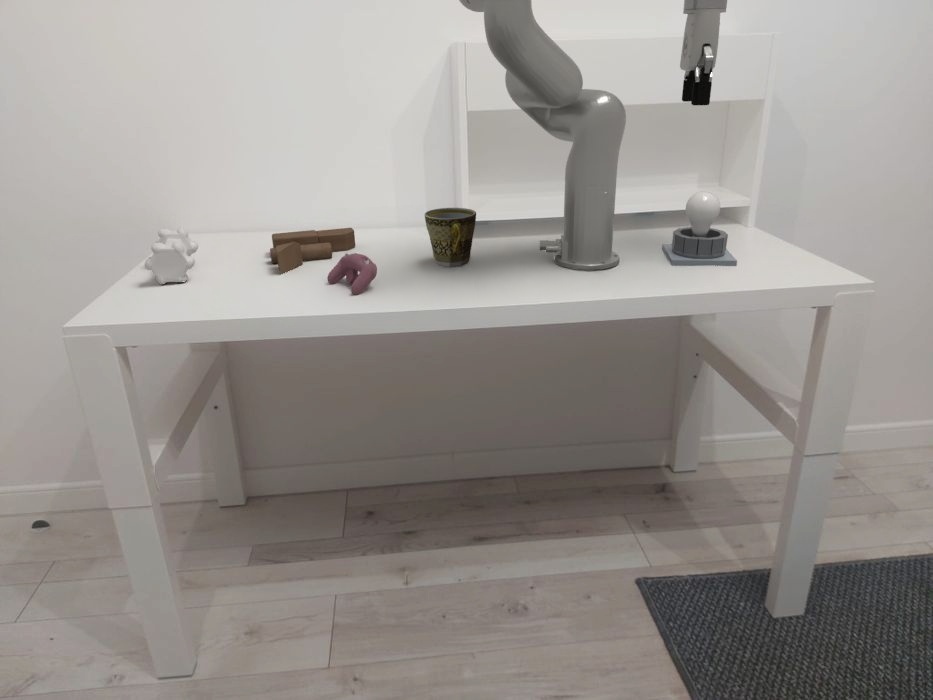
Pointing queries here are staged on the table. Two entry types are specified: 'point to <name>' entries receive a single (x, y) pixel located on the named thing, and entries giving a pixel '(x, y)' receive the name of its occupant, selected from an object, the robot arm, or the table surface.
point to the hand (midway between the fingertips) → (694, 103)
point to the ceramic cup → (451, 235)
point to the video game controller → (354, 272)
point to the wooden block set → (308, 246)
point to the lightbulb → (702, 212)
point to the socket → (699, 248)
